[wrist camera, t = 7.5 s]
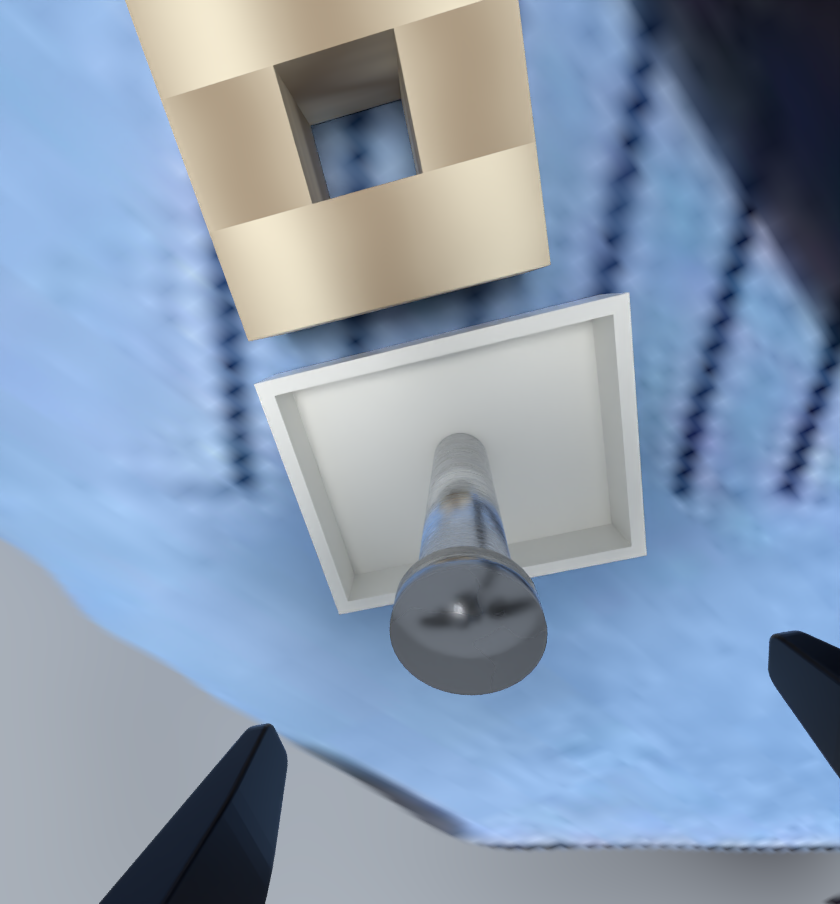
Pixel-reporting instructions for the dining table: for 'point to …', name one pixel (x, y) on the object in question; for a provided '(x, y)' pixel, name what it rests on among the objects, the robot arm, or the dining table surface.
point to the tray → (478, 414)
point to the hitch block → (335, 95)
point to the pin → (466, 586)
